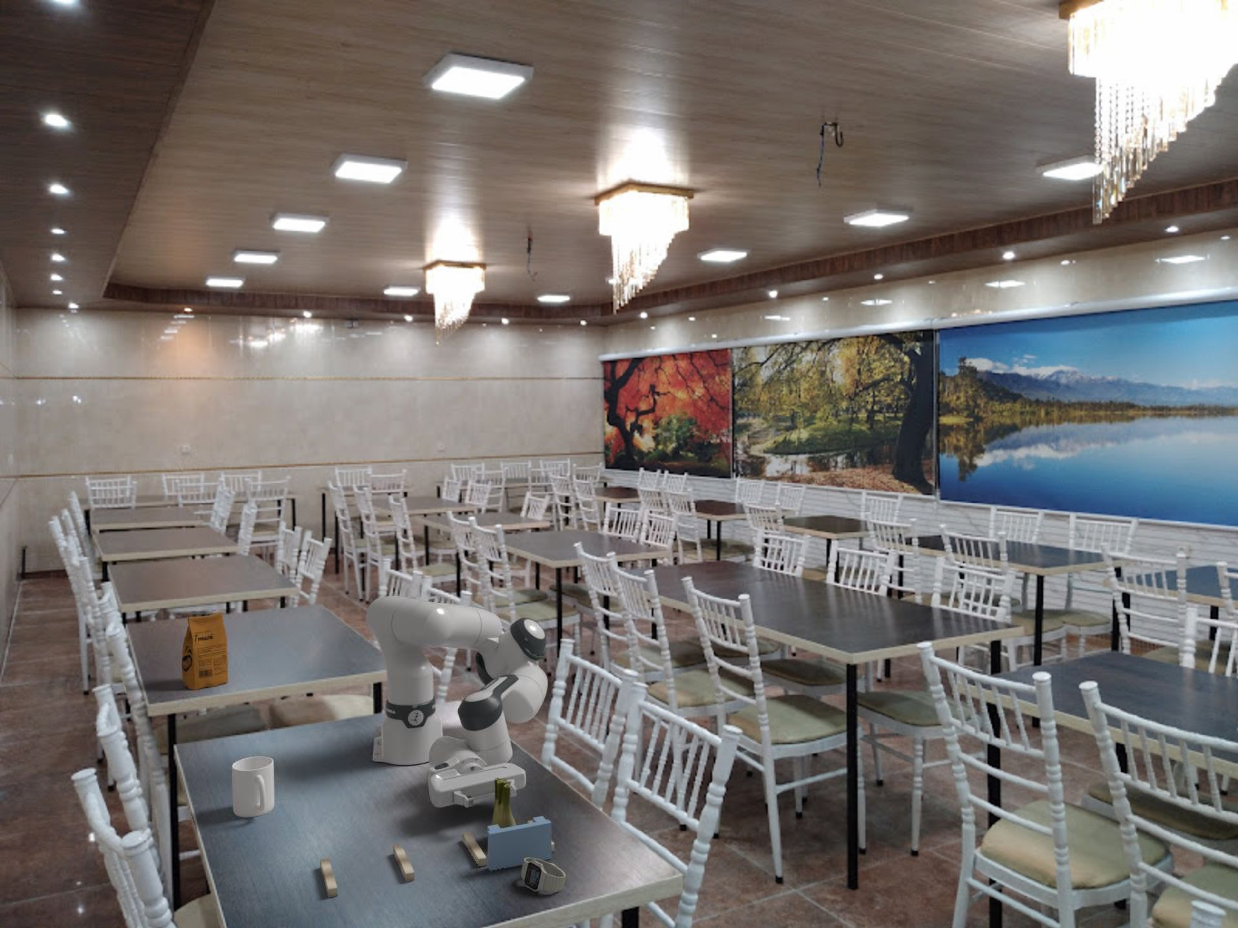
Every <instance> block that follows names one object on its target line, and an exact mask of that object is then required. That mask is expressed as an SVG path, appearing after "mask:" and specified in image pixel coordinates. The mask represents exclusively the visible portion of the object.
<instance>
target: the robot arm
mask: <svg viewBox="0 0 1238 928" xmlns="http://www.w3.org/2000/svg"><path fill="white" fill-rule="evenodd" d="M367 608H368V609H367V610H366V615H365V616H366V618H365V620H366V625H367V627H368V630H370V632H371V633H372V634H373V635H374V637H375V639H376V642H377V643H378V645H379V649H380V651H381V653H382V657H383V660H384V664H385V671H386V684H387V685H386V686H387V687H386V689H387V699H386V700H385V707H384V708H385V716H384V718H383V720H382V725H381V726H379V725H377V726H375V727H374V728H375V736H376V737H375V738H374V739H373V748H372V749H373V750H372V761H373V762H376V763H379V762H380V763H386V764H391V765H400V766H403V765H404V766H410V765H417V764H418V765H419V764H424V763H427V762H429V765H430V768H429V769H428V776H427V777H428V779H427V781H428V783H427V784H428V795H429V798H430V802H431V803H432V805H433V807H436V808H444V807H448V806H452V805H459V806H464V807H465V808H469V807H474V800H478V799H482V798H483V799H484V798H487V797H492V796H495V778H501V780H503V782H504V781H507V782H508V784H509V785H510V798H512V797H517V791H518V790H520V789H524V788H525V787H526V785H527V776H526V773H527V772H526V770H524V769H523V768H522V767H520V766H518V765H516V764H515V763H513V762H511V761H512V758H513V756H514V751H513V748H512V743H511V739H510V734H509V730H508V726H507V722H509V723H511V724H524V723H528V722H529V721H530V720H532V719H533V718H534V717H535V716H536V715H537V713H538V712H539V711H540V708H541V707H542V705H543V704H544V700H545V697H546V695H547V692H548V686H549V685H548V684H549V683H548V682H549V681H548V677H547V674H546V673H545V671H544V670H543V669H541V667H540V666H539V665H540V664H539V663H540V661H541V660H543V659H545V657H546V652H545V649H546V647H547V635H546V632H545V630H544V628H543V627H542V625H541V624H540V623H539V622H537V621H536V620H534V619H532V618H529V617H521V618H519V619H517V620H515V621H514V622H513V623H511V624H510V626H509V628H508V629H506V630H505V631H503V624H502V621H501V619H500V617H499V616H498V615H496V613H493V612H491V611H488V610H487V609H483V608H480V607H477V606H476V607H475V606H469V605H464V604H463V605H461V604H455V603H448V602H445V603H444V602H437V601H436V602H434V601H428V600H423V599H416V598H412V597H406V596H400V595H388V596H380V597H377V598H376V599H374V600H373V601H372V602H371V604H370V605H369V607H367ZM422 648H424V649H425V648H427V649H428V648H431V649H433V648H449V649H450V648H451V649H461V650H462V649H463V650H475V651H477V653H476V654H475V657H474V662H475V664H476V666H475V667H476V668H475V669H476V672H477V675H478V678H479V680H480V682H481V683H482V684H483V685H484V686H482V687H481V688H479V690H477V691H475V692H472V693H471V694H468V695H467V696H465V698H463V699H462V701H461V702H460V704H459V707H458V709H457V716H458V718H459V721H460V724H461V726H462V729H463V731H462V732H463V734H464V738H465V739H462V738H461V739H460V738H456V737H453V736H450V735H443V734H444V733H443V724H442V723H443V721H442V720H443V719H442V718H441V717H440V716H439V715H437V714H436V711H437V710H436V706H437V703H436V702H437V701H436V697H435V695H434V668H433V665H432V663H431V661H430V659H428V657H427V656H426V655H425V653H424V650H423V649H422Z"/></svg>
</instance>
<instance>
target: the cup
mask: <svg viewBox="0 0 1238 928" xmlns="http://www.w3.org/2000/svg"><path fill="white" fill-rule="evenodd" d="M274 763H275V762H274V759H273V758H271V757H269V756H261V755H260V756H250V757H245V758H242V759H239V760H237V761H235V762H233V764H232V765H231V780H232V781H231V782H232V784H231V786H232V788H231V789H232V810H233V813H234V815H236V816H237V817H239V818H240V817H241V818H256V817H261V816H263V815H266V814H268V813H269V812H271V811H272V810H273V808H275V776H274V775H275V774H274V773H275V772H274V770H275V769H274V767H275V766H274Z"/></svg>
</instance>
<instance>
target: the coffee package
mask: <svg viewBox="0 0 1238 928" xmlns="http://www.w3.org/2000/svg"><path fill="white" fill-rule="evenodd" d="M224 622H225V621H224V616H223V613H222V612H221V611H220V612H215V613H214V614H210V615H207V616H187V625H188V626H187V629H186V634H185V636H184V638H183V639H184V640H183V645H182V651H181V654H182V655H181V678H182V679H181V681H182V682H183V686H184V687H186V688H188V690H192V691H197V690H198V691H199V690H201V689H203V688H214V687H218V686H221V685H224V684H227V683H228V682H229V663H228V661H229V660H228V657H229V656H228V639H227V637H228V636H227V630H226V627H225V623H224Z"/></svg>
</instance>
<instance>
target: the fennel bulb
mask: <svg viewBox="0 0 1238 928" xmlns="http://www.w3.org/2000/svg"><path fill="white" fill-rule="evenodd" d="M492 815H493V816H492V823H491V826H492V825H497V824H498V826H499V827H500V828H507V827H512V826H517V824H516V821H515V818H514V816H513V813H512V808H511V797H510V785H509V784H508V782H507V781H504V782H503V780H501V778H495V795H494V806H493V813H492Z"/></svg>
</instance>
